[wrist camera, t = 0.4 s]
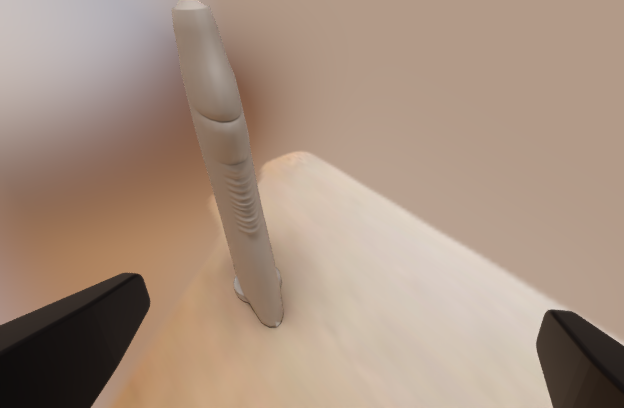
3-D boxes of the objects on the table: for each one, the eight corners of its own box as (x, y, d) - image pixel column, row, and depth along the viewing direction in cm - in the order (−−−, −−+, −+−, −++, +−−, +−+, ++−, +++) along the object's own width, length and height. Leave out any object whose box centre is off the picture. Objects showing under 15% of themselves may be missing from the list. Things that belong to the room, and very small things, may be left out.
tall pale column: (223, 257, 33) (143, -1, 21) (263, 243, 35) (208, -8, 23) (252, 342, 25) (147, -1, 13) (302, 320, 26) (250, -11, 14)
